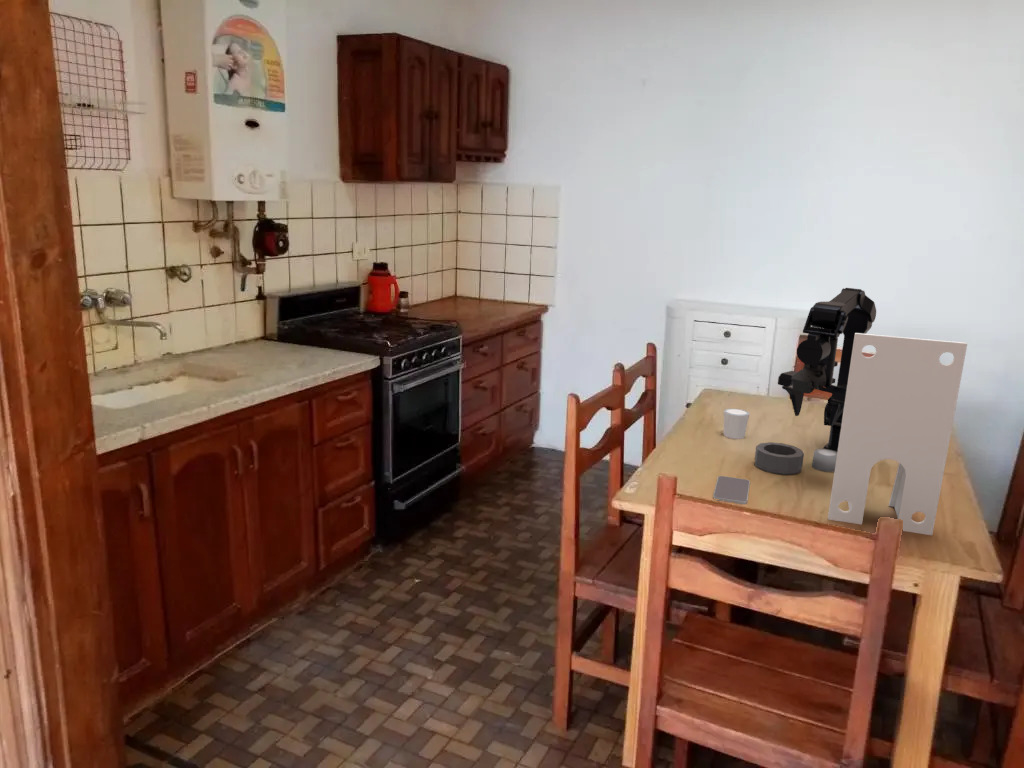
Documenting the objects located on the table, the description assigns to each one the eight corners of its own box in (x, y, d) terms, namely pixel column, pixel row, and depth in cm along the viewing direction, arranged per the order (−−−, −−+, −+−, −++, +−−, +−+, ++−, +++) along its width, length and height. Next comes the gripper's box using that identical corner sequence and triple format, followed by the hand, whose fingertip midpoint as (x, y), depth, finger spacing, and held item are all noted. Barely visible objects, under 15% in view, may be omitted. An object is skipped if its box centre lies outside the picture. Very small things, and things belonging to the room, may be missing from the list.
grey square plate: (750, 479, 190) (747, 502, 177) (749, 483, 191) (746, 506, 177) (718, 475, 193) (712, 496, 179) (717, 478, 193) (712, 500, 179)
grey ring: (764, 456, 208) (766, 439, 207) (807, 466, 202) (809, 449, 201) (747, 466, 200) (749, 449, 199) (791, 478, 194) (793, 460, 192)
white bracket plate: (921, 509, 178) (953, 331, 168) (932, 535, 165) (967, 343, 155) (825, 495, 184) (850, 322, 174) (828, 519, 171) (855, 333, 161)
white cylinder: (751, 438, 223) (754, 414, 221) (731, 440, 220) (733, 416, 218) (736, 431, 229) (739, 407, 227) (716, 433, 226) (718, 409, 224)
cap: (816, 462, 206) (818, 447, 205) (840, 467, 202) (842, 452, 201) (808, 468, 201) (810, 452, 200) (833, 474, 198) (835, 458, 197)
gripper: (767, 353, 191) (760, 416, 195) (839, 370, 177) (830, 437, 181) (795, 348, 198) (787, 408, 202) (866, 363, 183) (857, 428, 188)
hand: (813, 420), depth 193 cm, fingers open, 9 cm apart
